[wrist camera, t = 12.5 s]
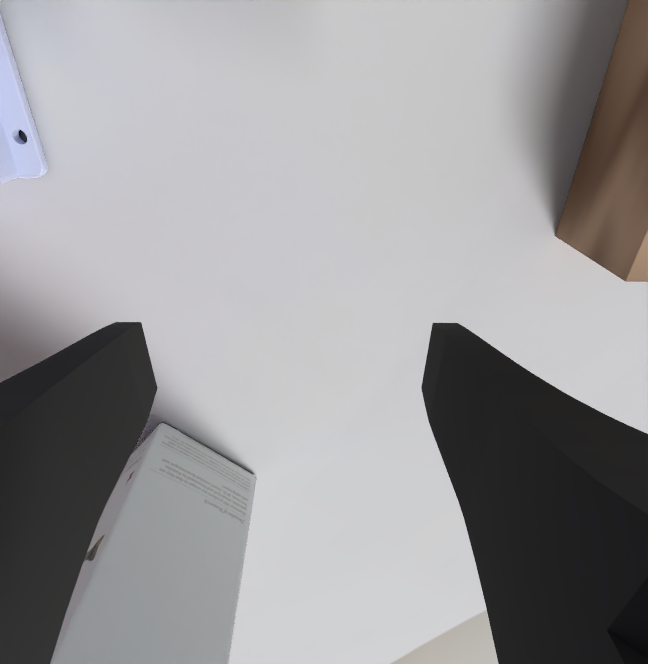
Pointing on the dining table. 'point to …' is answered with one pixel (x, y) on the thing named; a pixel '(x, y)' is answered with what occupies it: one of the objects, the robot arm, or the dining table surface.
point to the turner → (615, 162)
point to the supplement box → (163, 560)
